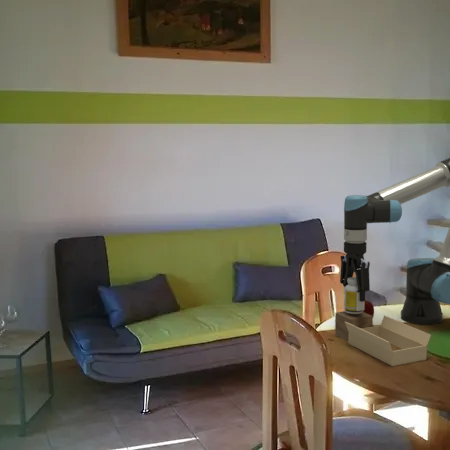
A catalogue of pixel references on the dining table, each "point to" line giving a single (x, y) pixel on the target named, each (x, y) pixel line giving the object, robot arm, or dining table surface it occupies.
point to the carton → (390, 341)
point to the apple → (368, 308)
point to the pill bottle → (351, 296)
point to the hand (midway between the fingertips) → (354, 307)
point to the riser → (351, 322)
